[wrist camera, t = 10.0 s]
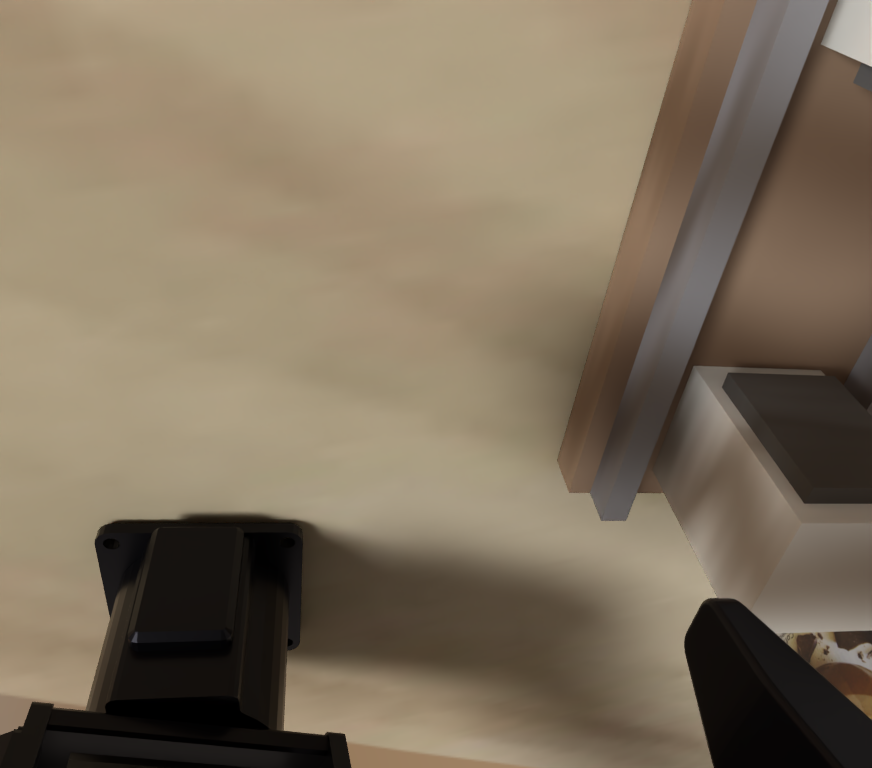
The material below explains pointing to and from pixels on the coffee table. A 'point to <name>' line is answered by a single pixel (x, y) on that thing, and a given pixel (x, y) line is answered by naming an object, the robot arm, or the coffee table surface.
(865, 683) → the coffee box
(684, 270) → the rail
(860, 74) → the off-white square prism
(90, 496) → the coffee table surface
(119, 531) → the robot arm
